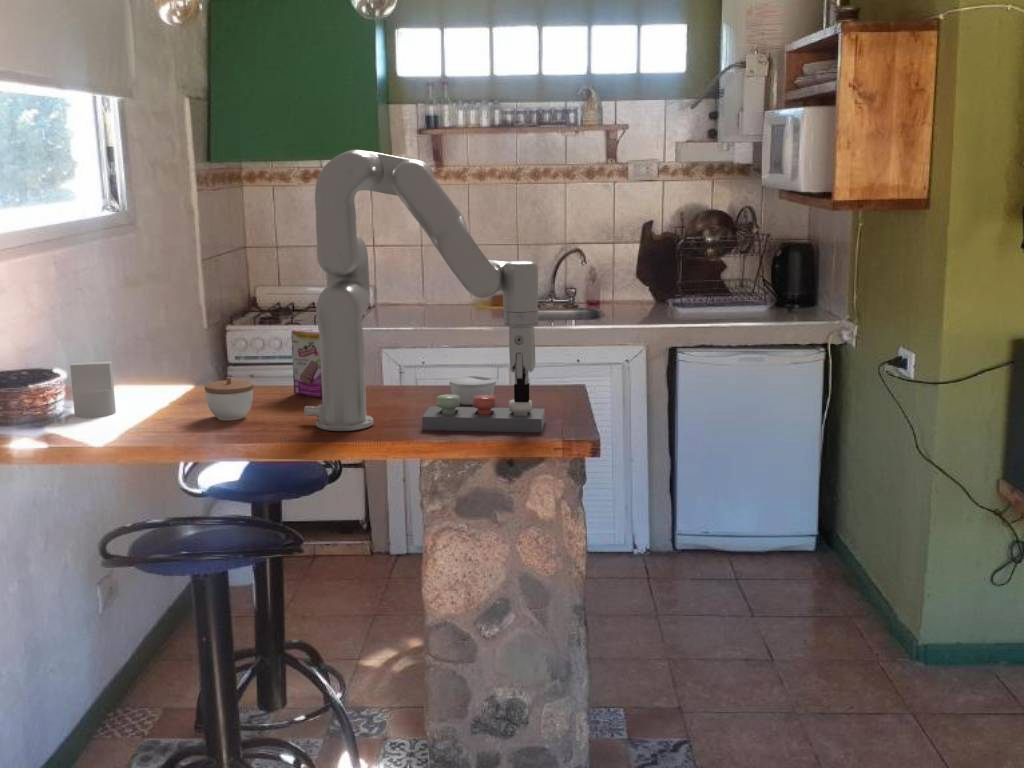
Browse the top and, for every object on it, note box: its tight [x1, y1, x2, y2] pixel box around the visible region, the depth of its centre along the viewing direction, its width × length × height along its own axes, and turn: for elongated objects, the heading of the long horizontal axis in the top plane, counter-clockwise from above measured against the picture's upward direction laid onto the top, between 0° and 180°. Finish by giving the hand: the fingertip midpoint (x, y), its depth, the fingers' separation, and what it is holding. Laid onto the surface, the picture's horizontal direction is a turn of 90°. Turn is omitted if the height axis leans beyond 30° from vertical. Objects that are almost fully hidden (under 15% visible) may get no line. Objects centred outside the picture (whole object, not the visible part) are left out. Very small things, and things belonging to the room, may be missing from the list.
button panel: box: [421, 405, 546, 433], centre depth 236 cm, size 26×10×3 cm, turn 84°
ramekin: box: [449, 375, 497, 406], centre depth 261 cm, size 11×11×5 cm
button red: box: [472, 395, 497, 415], centre depth 236 cm, size 5×5×5 cm
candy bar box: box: [290, 327, 322, 399], centre depth 267 cm, size 11×5×16 cm, turn 59°
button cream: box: [508, 399, 533, 416], centre depth 235 cm, size 5×5×5 cm
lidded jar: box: [204, 376, 254, 422], centre depth 244 cm, size 11×11×9 cm
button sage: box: [436, 394, 461, 414], centre depth 237 cm, size 5×5×5 cm
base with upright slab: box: [69, 360, 117, 419], centre depth 248 cm, size 9×9×12 cm
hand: (521, 401), depth 235 cm, fingers closed
